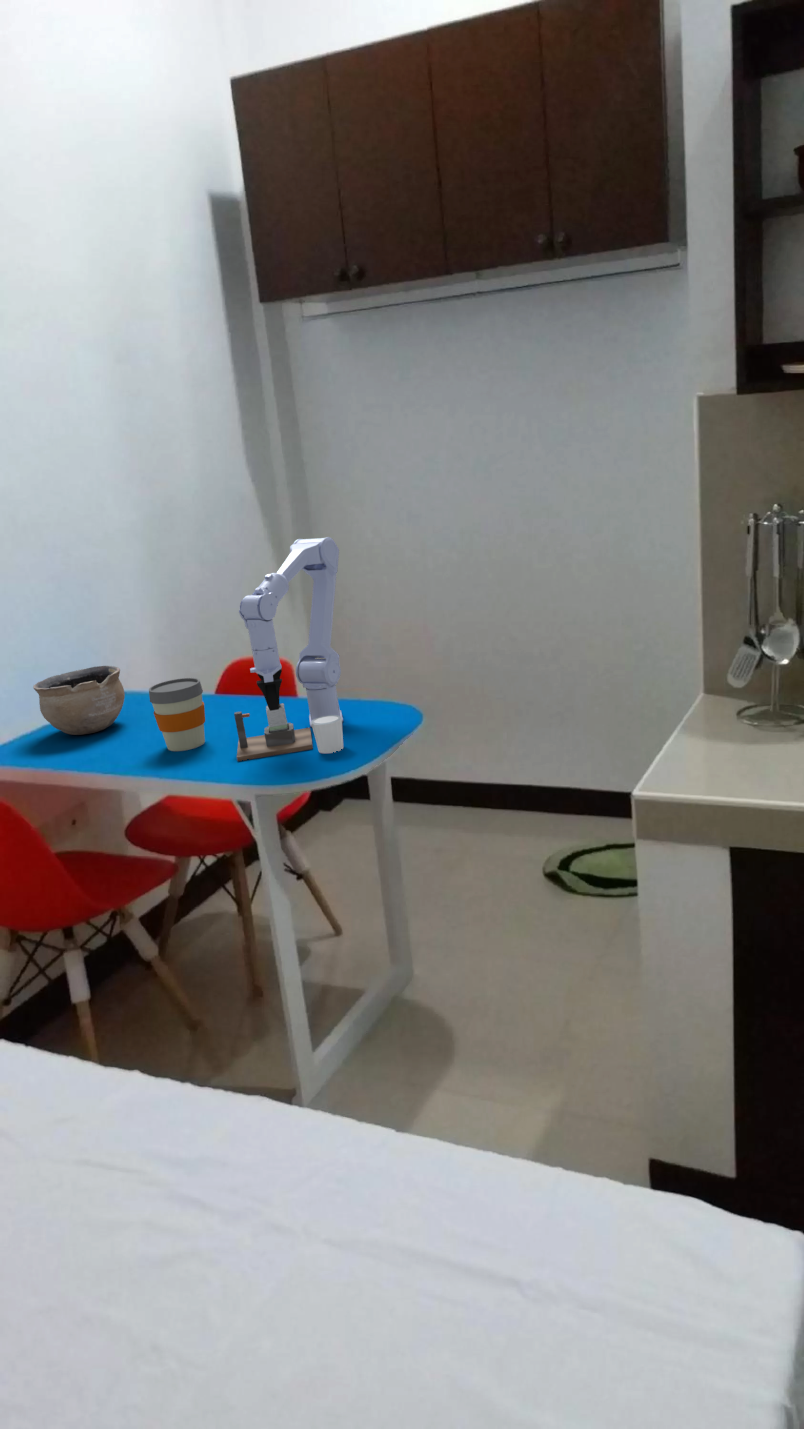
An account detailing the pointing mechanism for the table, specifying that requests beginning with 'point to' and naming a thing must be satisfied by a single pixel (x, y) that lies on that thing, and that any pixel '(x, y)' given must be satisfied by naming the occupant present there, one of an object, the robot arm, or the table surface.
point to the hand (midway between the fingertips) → (274, 705)
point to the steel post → (277, 719)
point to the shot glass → (328, 733)
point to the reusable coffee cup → (179, 712)
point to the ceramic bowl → (82, 699)
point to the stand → (270, 741)
